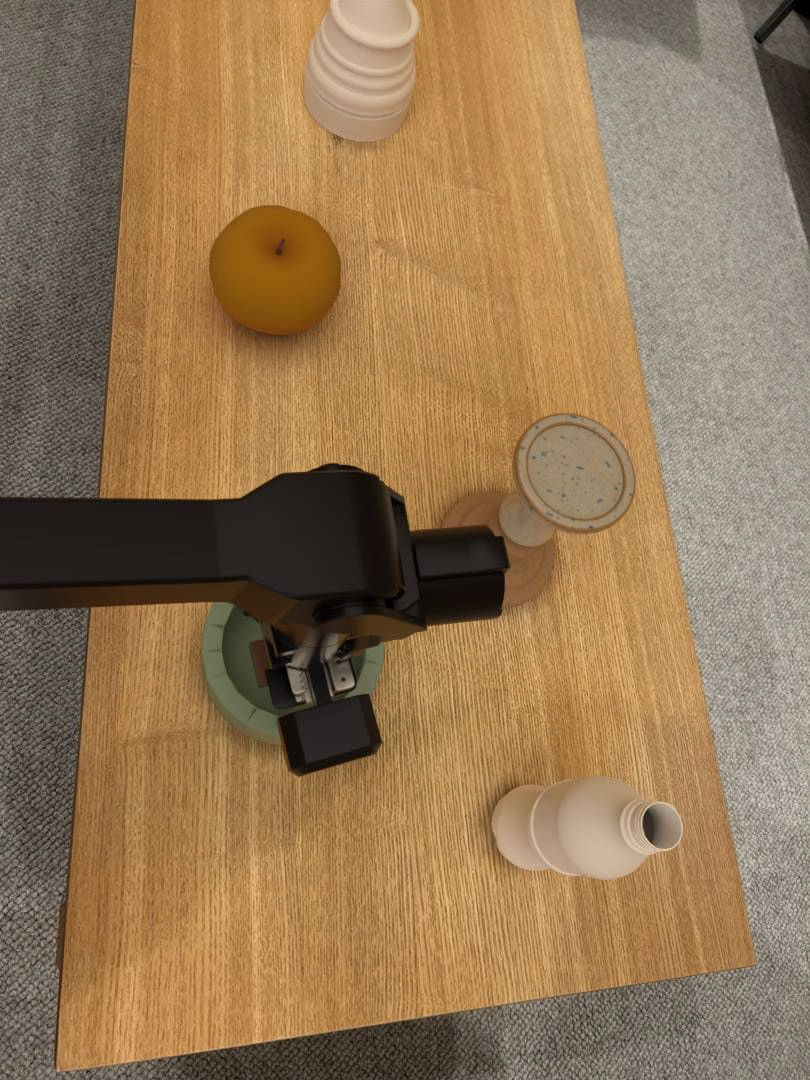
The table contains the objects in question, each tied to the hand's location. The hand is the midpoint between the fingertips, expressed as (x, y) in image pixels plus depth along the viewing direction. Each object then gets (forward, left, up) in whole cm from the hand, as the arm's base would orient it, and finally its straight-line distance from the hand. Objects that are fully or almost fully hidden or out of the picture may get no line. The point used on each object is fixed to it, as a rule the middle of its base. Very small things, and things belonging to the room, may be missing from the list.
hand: (290, 653), depth 63 cm
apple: (+8, +38, -12) cm, 41 cm away
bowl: (+1, +1, -12) cm, 12 cm away
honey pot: (+25, +66, -12) cm, 72 cm away
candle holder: (+24, +7, -12) cm, 28 cm away
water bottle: (+18, -19, -12) cm, 29 cm away
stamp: (0, 0, -3) cm, 3 cm away
